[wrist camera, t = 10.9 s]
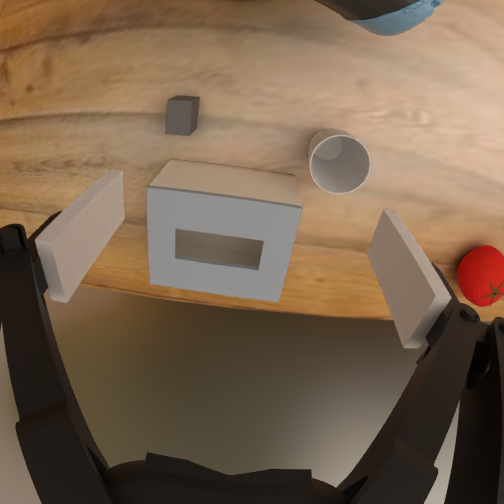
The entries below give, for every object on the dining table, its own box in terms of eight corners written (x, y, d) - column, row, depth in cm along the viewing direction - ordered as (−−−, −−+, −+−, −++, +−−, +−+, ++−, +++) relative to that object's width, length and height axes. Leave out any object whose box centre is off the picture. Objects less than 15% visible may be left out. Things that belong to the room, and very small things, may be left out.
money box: (171, 159, 49) (146, 187, 39) (294, 175, 50) (302, 208, 40) (168, 242, 58) (150, 283, 48) (277, 257, 59) (278, 302, 49)
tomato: (461, 292, 63) (480, 325, 53) (442, 259, 58) (464, 294, 49) (498, 262, 58) (521, 293, 48) (483, 226, 53) (511, 256, 44)
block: (177, 95, 43) (167, 99, 39) (199, 97, 44) (192, 101, 39) (174, 126, 46) (165, 133, 42) (196, 128, 46) (189, 135, 42)
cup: (305, 172, 50) (314, 198, 41) (297, 124, 45) (304, 139, 37) (354, 165, 49) (372, 189, 40) (349, 116, 44) (368, 131, 36)
